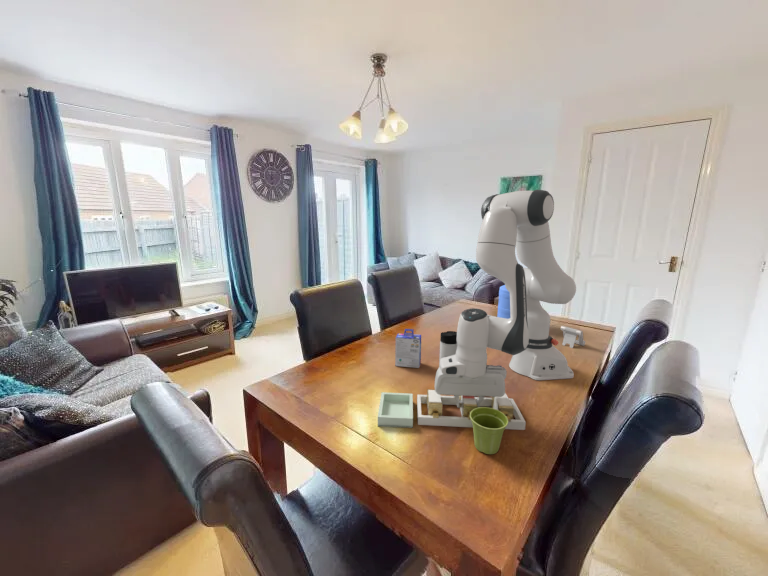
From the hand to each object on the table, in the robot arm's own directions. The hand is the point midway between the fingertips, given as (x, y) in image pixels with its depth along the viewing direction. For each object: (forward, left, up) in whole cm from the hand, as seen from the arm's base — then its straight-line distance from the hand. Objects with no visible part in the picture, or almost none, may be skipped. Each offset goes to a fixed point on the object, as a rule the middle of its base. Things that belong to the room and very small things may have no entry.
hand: (467, 406), depth 98 cm
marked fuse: (0, 0, -3) cm, 3 cm away
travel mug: (+4, -17, -3) cm, 18 cm away
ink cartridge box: (+18, -32, -3) cm, 37 cm away
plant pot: (-3, +13, -3) cm, 14 cm away
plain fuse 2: (-10, 0, -3) cm, 10 cm away
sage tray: (+22, +1, -3) cm, 22 cm away
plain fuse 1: (+10, 0, -3) cm, 10 cm away
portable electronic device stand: (-57, -58, -3) cm, 81 cm away
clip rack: (0, 0, -3) cm, 3 cm away
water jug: (-37, -81, -3) cm, 89 cm away
